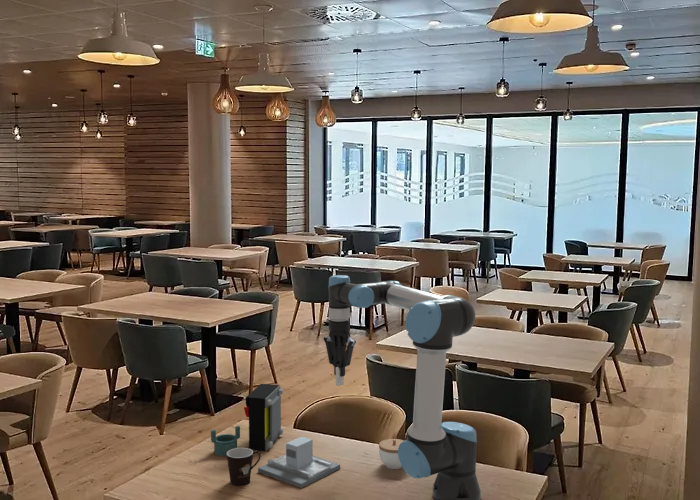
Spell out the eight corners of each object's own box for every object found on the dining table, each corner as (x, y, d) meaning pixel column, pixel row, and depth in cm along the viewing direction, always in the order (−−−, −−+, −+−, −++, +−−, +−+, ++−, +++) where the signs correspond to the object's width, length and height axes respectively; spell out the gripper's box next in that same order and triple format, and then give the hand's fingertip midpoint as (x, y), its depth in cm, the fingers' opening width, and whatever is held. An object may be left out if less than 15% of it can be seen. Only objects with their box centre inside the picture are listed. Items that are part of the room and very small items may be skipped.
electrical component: (270, 451, 255) (270, 398, 253) (244, 449, 257) (243, 397, 255) (284, 434, 272) (284, 385, 270) (259, 432, 274) (259, 383, 272)
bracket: (209, 454, 253) (208, 430, 252) (223, 445, 261) (223, 422, 260) (230, 458, 249) (229, 434, 248) (243, 449, 258) (243, 426, 257)
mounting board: (340, 468, 241) (340, 464, 240) (301, 488, 225) (301, 483, 225) (297, 454, 253) (297, 450, 253) (258, 472, 237) (258, 467, 237)
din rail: (331, 467, 237) (331, 463, 237) (308, 479, 228) (308, 474, 228) (290, 454, 249) (290, 449, 249) (267, 464, 240) (267, 459, 240)
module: (312, 462, 240) (312, 439, 239) (296, 469, 234) (296, 446, 233) (301, 458, 243) (301, 436, 243) (285, 465, 237) (285, 443, 236)
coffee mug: (228, 488, 224) (228, 459, 223) (225, 478, 232) (225, 449, 231) (264, 484, 227) (263, 455, 226) (260, 474, 236) (260, 445, 235)
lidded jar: (388, 457, 251) (389, 432, 250) (414, 464, 245) (415, 438, 244) (373, 467, 242) (373, 441, 241) (399, 474, 236) (399, 447, 235)
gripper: (360, 319, 244) (360, 385, 246) (331, 315, 251) (331, 379, 253) (348, 322, 237) (348, 390, 240) (318, 318, 245) (318, 384, 247)
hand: (339, 384), depth 246 cm, fingers closed
